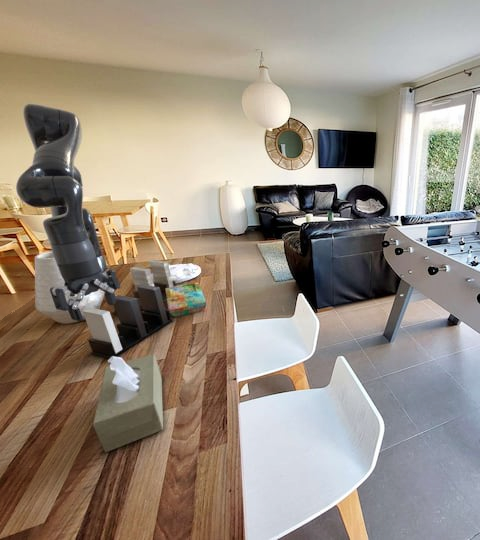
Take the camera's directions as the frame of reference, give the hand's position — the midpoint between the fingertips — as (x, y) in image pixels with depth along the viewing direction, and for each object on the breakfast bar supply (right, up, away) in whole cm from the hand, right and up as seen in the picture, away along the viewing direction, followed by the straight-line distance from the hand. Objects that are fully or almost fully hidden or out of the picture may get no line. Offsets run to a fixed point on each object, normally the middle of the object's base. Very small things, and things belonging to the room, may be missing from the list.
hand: (96, 312), depth 79 cm
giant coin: (-13, +9, +55) cm, 58 cm away
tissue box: (+21, -21, -13) cm, 33 cm away
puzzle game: (+5, -2, +33) cm, 33 cm away
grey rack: (+1, -10, +12) cm, 16 cm away
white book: (-1, -12, +5) cm, 13 cm away
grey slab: (-10, -1, +33) cm, 34 cm away
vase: (-27, -5, +22) cm, 35 cm away
